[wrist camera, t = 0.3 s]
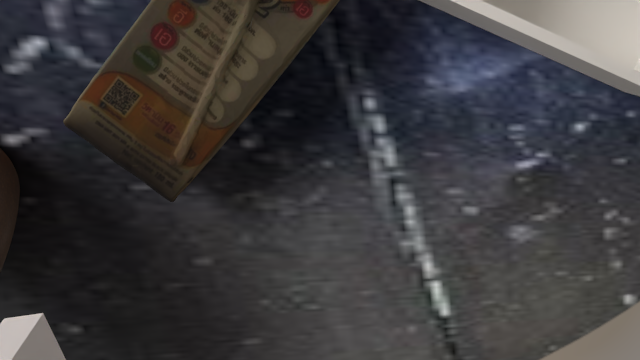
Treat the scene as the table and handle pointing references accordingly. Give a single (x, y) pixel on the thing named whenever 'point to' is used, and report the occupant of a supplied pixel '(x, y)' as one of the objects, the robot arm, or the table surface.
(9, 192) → the plant pot
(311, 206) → the table surface
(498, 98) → the table surface
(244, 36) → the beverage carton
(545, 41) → the box
